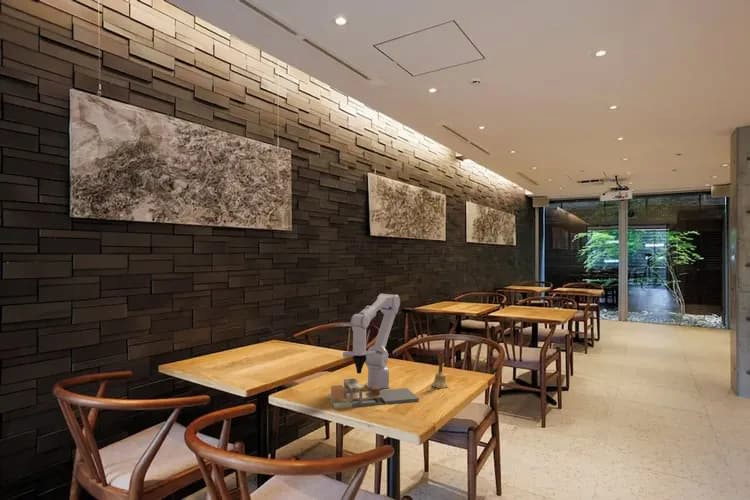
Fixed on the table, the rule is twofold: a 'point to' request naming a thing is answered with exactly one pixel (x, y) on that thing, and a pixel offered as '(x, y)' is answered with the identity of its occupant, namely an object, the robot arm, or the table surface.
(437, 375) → the hand bell
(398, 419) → the table surface
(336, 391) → the block
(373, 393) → the sled
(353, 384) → the tunnel
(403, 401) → the board
